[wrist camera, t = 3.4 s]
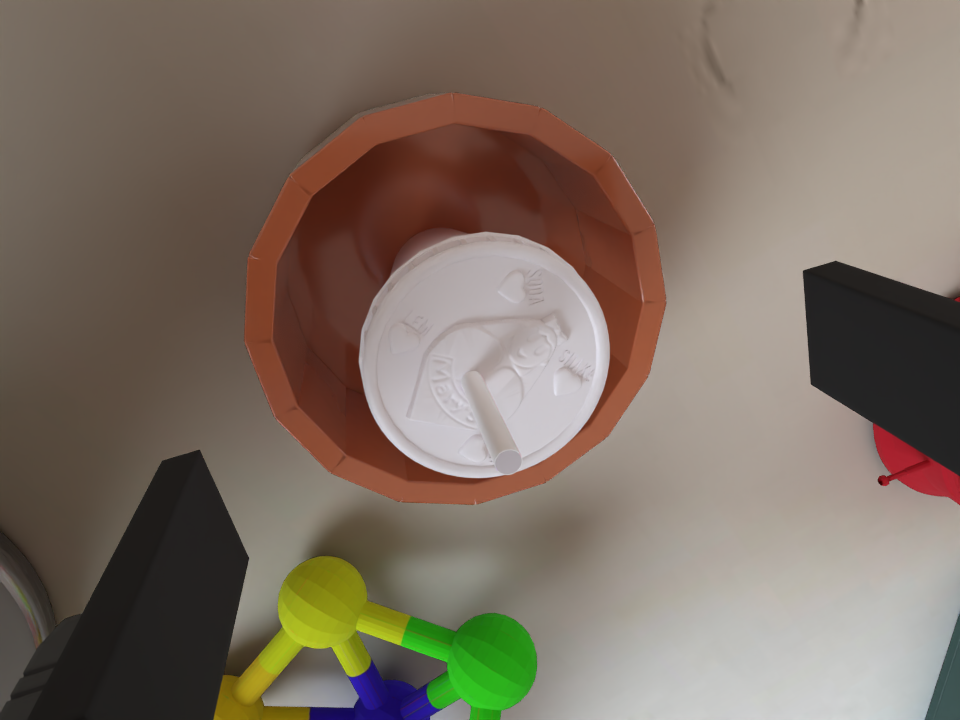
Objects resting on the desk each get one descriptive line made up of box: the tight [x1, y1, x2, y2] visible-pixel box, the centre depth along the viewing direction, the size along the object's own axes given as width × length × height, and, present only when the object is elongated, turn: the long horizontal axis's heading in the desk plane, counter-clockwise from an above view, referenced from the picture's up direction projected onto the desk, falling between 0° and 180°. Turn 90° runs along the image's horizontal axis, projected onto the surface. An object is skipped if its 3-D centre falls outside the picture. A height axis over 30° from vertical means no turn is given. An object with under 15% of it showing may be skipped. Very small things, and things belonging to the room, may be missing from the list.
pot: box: [244, 93, 666, 505], centre depth 24 cm, size 13×13×6 cm
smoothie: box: [359, 228, 610, 478], centre depth 20 cm, size 6×6×14 cm
